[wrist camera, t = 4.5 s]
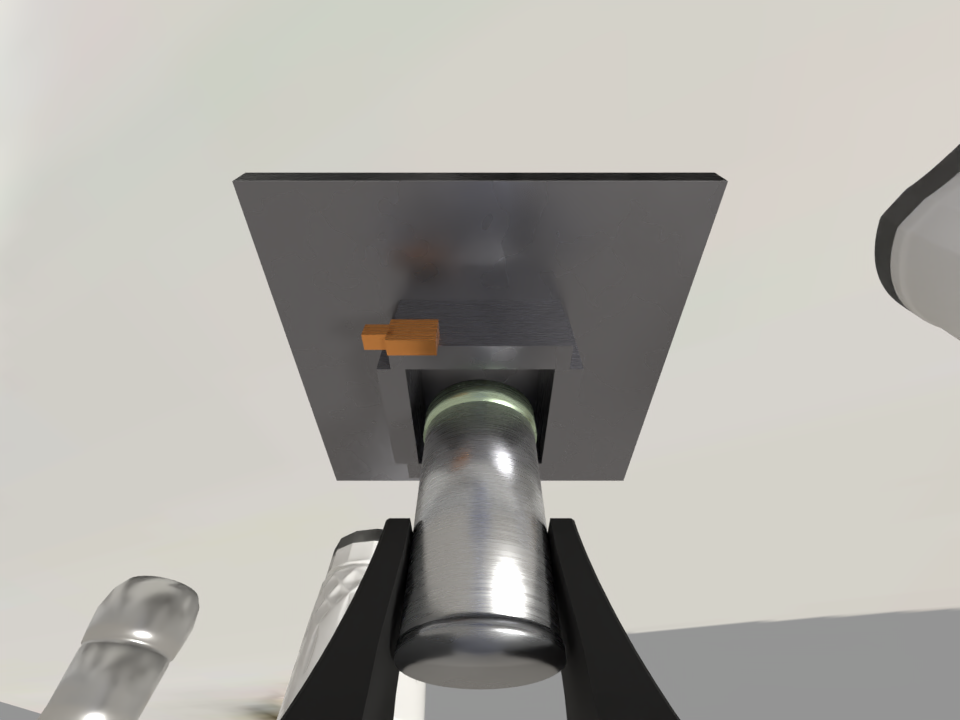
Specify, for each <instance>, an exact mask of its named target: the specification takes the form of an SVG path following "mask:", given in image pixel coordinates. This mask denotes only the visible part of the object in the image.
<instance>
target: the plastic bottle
mask: <svg viewBox="0 0 960 720" xmlns="http://www.w3.org/2000/svg"><path fill="white" fill-rule="evenodd" d="M198 612H199V598H198V594H197V593H196V592H195V591H194V590H193V589H192V588H190V587H189V586H187V585H185V584H183V583H180V582H178V581H175V580H172V579H168V578H163V577H157V576H136V577H132V578H129V579H128V580H126V581H124V582H123V583H121V584H120V585H118V586H116V587H115V588H114V589H113V590H112V591H111V592H110V594H109V595H108V596H107V597H106V598H105V599H104V600H103V602H102V603H101V604H100V605H99V606H98V608H97V610H96V612H95V614H94V616H93V618H92V619H91V621H90V623H89V625H88V627H87V629H86V632H85V634H84V636H83V639H82V641H81V647H79V649H78V651H77V652H76V654H75V656H74V658H73V660H72V661H71V663H70V665H69V667H68V669H67V670H66V672H65V674H64V676H63V677H62V679H61V681H60V683H59V685H58V686H57V688H56V690H55V692H54V694H53V695H52V697H51V699H50V701H49V702H48V704H47V706H46V707H45V709H44V710H43V712H42V713H41V715H40V716H39V717H38V719H37V720H138V719H139V717H140V716H141V714H142V712H143V710H144V709H145V707H146V705H147V703H148V701H149V700H150V698H151V696H152V694H153V693H154V691H155V689H156V687H157V686H158V684H159V682H160V680H161V679H162V677H163V675H164V673H165V672H166V670H167V668H168V666H169V663H170V662H171V661H172V660H173V659H174V658H175V657H176V655H177V654H178V652H179V651H180V649H181V648H182V646H183V645H184V643H185V642H186V640H187V638H188V637H189V635H190V633H191V632H192V630H193V628H194V625H195V621H196V618H197V615H198Z"/></svg>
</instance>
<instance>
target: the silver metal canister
mask: <svg viewBox="0 0 960 720" xmlns="http://www.w3.org/2000/svg"><path fill="white" fill-rule="evenodd" d="M423 440H424V451H423V459H422V466H421V474H420V482H419V489H418V497H417V504H416V512H415V520H414V527H413V535H412V542H411V550H410V558H409V565H408V573H407V580H406V588H405V596H404V603H403V611H402V618H401V626H400V633H399V638H398V640H397V642H396V648H395V655H394V664H395V666H396V668H397V669H398V670H399V671H400V672H402V673H403V674H405V675H406V676H408V677H410V678H413V679H415V680H418V681H421V682H424V683H428V684H432V685H437V686H442V687H449V688H458V689H479V690H481V689H502V688H511V687H518V686H524V685H529V684H532V683H536V682H539V681H543V680H545V679H548V678H550V677H552V676H554V675H556V674H557V673H559V672H560V671H561V670H562V669H563V668H564V666H565V665H566V653H565V646H564V641H563V640H562V638H561V631H560V624H559V616H558V609H557V601H556V594H555V586H554V578H553V571H552V563H551V556H550V548H549V540H548V533H547V525H546V518H545V510H544V503H543V495H542V487H541V480H540V472H539V465H538V457H537V450H536V441H537V433H536V425H535V418H534V412H533V408H532V406H531V404H530V402H529V400H528V399H527V398H526V397H525V396H524V395H523V394H522V393H521V392H520V391H518V390H517V389H515V388H513V387H511V386H509V385H507V384H504V383H501V382H497V381H492V380H482V379H478V380H468V381H463V382H459V383H456V384H454V385H451V386H449V387H447V388H445V389H444V390H442V391H441V392H439V393H438V394H437V395H436V396H435V397H434V398H433V399H432V401H431V402H430V404H429V406H428V409H427V413H426V420H425V427H424V434H423Z"/></svg>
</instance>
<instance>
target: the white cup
mask: <svg viewBox="0 0 960 720" xmlns="http://www.w3.org/2000/svg"><path fill="white" fill-rule="evenodd" d="M382 531H383V529H369V530H361V531H355V532H353V533H351V534H349V535H347V536H345V537H343V538H341V539H340V541H339V543H338V545H337V546H336V548H335V550H334V553H333V556H332V559H331V563H330V566H329V569H328V572H327V575H326V579H325V580H324V582H323V583H322V586H321V588H320V591H319V594H318V598H317V600H316V603H315V606H314V608H313V611H312V614H311V617H310V619H309V622H308V625H307V628H306V631H305V635H304V638H303V641H302V644H301V647H300V650H299V653H298V656H297V659H296V662H295V665H294V668H293V672H292V675H291V678H290V681H289V684H288V687H287V690H286V693H285V696H284V699H283V702H282V705H281V708H280V711H279V714H278V717H277V720H280V719H281V718H282V716H283V715H284V713H285V712H286V710H287V709H288V707H289V706H290V704H291V703H292V701H293V700H294V698H295V697H296V695H297V694H298V692H299V691H300V689H301V687H302V686H303V684H304V683H305V681H306V680H307V678H308V676H309V675H310V673H311V672H312V670H313V668H314V667H315V665H316V663H317V662H318V660H319V658H320V657H321V655H322V653H323V652H324V650H325V648H326V647H327V645H328V643H329V641H330V640H331V638H332V636H333V634H334V632H335V631H336V629H337V627H338V625H339V623H340V621H341V619H342V618H343V616H344V614H345V612H346V610H347V608H348V606H349V604H350V603H351V601H352V599H353V597H354V594H355V592H356V590H357V588H358V586H359V584H360V582H361V580H362V578H363V576H364V574H365V572H366V569H367V567H368V565H369V563H370V560H371V558H372V556H373V553H374V551H375V549H376V546H377V544H378V541H379V539H380V536H381V533H382ZM425 694H426V683H424V682H421V681H418V680H415V679H413V678H410V677H408V676H406V675H405V674H403V673H402V672H399V677H398V684H397V691H396V700H395V710H394V720H424V718H425Z"/></svg>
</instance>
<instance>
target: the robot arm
mask: <svg viewBox="0 0 960 720" xmlns="http://www.w3.org/2000/svg"><path fill="white" fill-rule="evenodd" d="M412 535H413V531H412V525H411V520H410V518H389V519H387V520H386V522H385V525H384V528H383V531H382V533H381V536H380V539H379V541H378V544H377V546H376V549H375V551H374V553H373V556H372V558H371V560H370V563H369V565H368V567H367V569H366V572H365V574H364V576H363V578H362V580H361V582H360V584H359V586H358V588H357V590H356V592H355V594H354V597H353V599H352V601H351V603H350V604H349V606H348V608H347V610H346V612H345V614H344V616H343V618H342V619H341V621H340V623H339V625H338V627H337V629H336V631H335V632H334V634H333V636H332V638H331V640H330V641H329V643H328V645H327V647H326V648H325V650H324V652H323V653H322V655H321V657H320V658H319V660H318V662H317V663H316V665H315V667H314V668H313V670H312V672H311V673H310V675H309V676H308V678H307V680H306V681H305V683H304V684H303V686H302V687H301V689H300V691H299V692H298V694H297V695H296V697H295V698H294V700H293V701H292V703H291V704H290V706H289V707H288V709H287V710H286V712H285V713H284V715H283V716H282V718H281V719H280V720H394V710H395V700H396V691H397V684H398V677H399V672H400V671H399V670H398V669H397V668H396V666H395V664H394V655H395V648H396V642H397V640H398V638H399V633H400V626H401V618H402V611H403V603H404V596H405V588H406V580H407V573H408V565H409V558H410V550H411V542H412ZM548 540H549V548H550V556H551V563H552V571H553V578H554V586H555V594H556V601H557V609H558V616H559V624H560V631H561V638H562V640H563V641H564V646H565V653H566V665H565V666H564V668H563V669H562V670H561V675H562V681H563V688H564V695H565V705H566V715H567V720H680V718H679V717H678V716H677V714H676V713H675V711H674V710H673V708H672V707H671V705H670V704H669V702H668V701H667V699H666V698H665V696H664V695H663V693H662V691H661V690H660V688H659V687H658V685H657V684H656V682H655V681H654V679H653V677H652V676H651V674H650V672H649V671H648V669H647V668H646V666H645V664H644V663H643V661H642V659H641V658H640V656H639V654H638V653H637V651H636V649H635V648H634V646H633V644H632V642H631V641H630V639H629V637H628V635H627V633H626V632H625V630H624V628H623V626H622V624H621V623H620V621H619V619H618V617H617V615H616V613H615V611H614V609H613V608H612V606H611V604H610V602H609V600H608V598H607V596H606V594H605V592H604V590H603V588H602V586H601V584H600V581H599V579H598V577H597V575H596V573H595V571H594V569H593V566H592V564H591V562H590V560H589V557H588V555H587V553H586V550H585V548H584V545H583V543H582V540H581V538H580V535H579V532H578V530H577V527H576V524H575V521H574V520H573V519H572V518H550V522H549V527H548Z"/></svg>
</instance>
